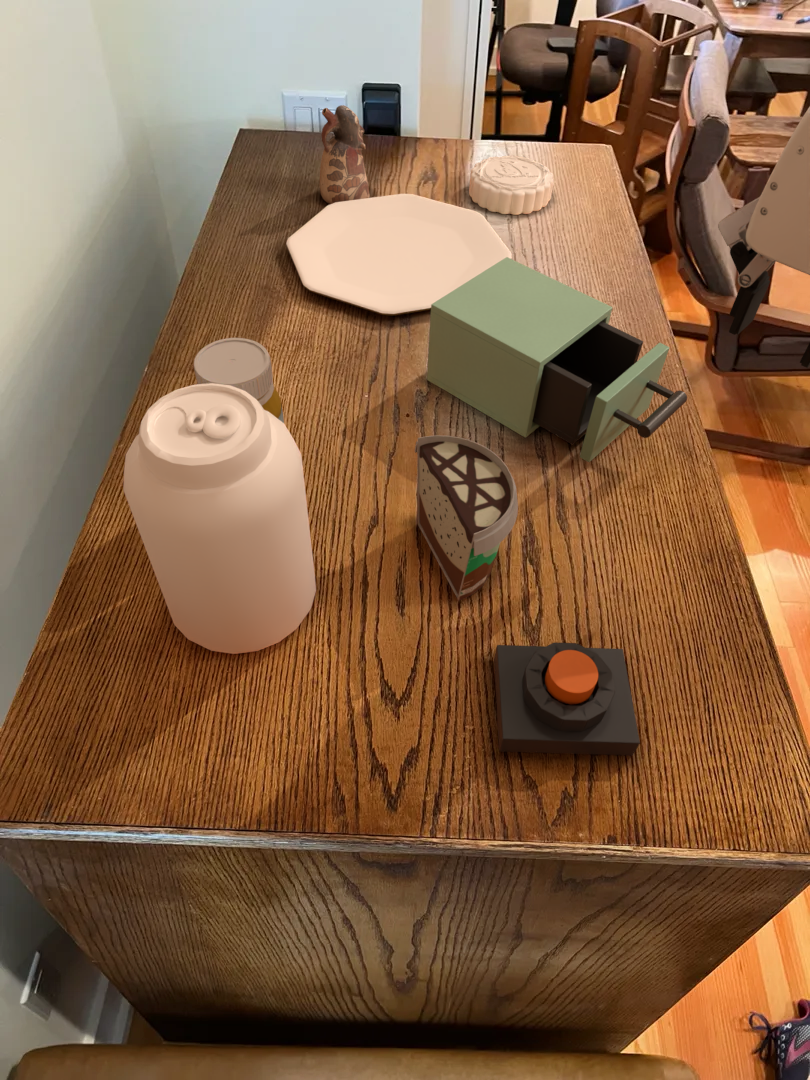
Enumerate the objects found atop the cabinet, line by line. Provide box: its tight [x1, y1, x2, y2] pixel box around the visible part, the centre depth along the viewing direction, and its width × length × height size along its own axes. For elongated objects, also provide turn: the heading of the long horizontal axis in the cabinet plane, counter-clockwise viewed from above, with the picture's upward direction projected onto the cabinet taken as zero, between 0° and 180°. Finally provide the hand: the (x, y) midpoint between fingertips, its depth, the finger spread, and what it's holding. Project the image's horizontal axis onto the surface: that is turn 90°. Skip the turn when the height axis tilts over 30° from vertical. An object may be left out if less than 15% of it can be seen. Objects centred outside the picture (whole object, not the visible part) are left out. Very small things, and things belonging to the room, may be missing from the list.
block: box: [493, 642, 641, 757], centre depth 58 cm, size 10×8×4 cm
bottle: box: [193, 337, 285, 424], centre depth 68 cm, size 7×7×15 cm
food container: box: [414, 434, 519, 602], centre depth 66 cm, size 12×6×10 cm, turn 22°
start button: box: [545, 650, 598, 704], centre depth 56 cm, size 4×4×2 cm
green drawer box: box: [426, 257, 613, 439], centre depth 81 cm, size 14×13×10 cm
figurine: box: [318, 104, 371, 205], centre depth 107 cm, size 7×7×12 cm
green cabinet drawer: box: [532, 321, 688, 463], centre depth 77 cm, size 17×11×8 cm
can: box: [123, 383, 317, 655], centre depth 58 cm, size 12×12×20 cm
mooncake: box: [468, 154, 555, 216], centre depth 111 cm, size 12×12×4 cm
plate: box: [285, 193, 513, 317], centre depth 100 cm, size 28×28×2 cm
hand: (775, 340), depth 62 cm, fingers open, 5 cm apart
